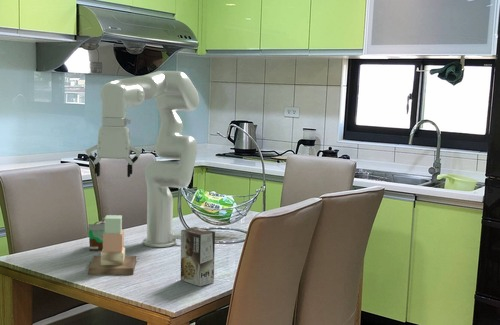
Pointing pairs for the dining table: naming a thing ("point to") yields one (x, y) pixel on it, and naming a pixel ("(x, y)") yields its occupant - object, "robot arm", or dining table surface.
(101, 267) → the tower board
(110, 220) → the sage cube
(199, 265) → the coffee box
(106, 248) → the terracotta cube
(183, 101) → the robot arm
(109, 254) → the beech block
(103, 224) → the food container
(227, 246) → the dining table surface
